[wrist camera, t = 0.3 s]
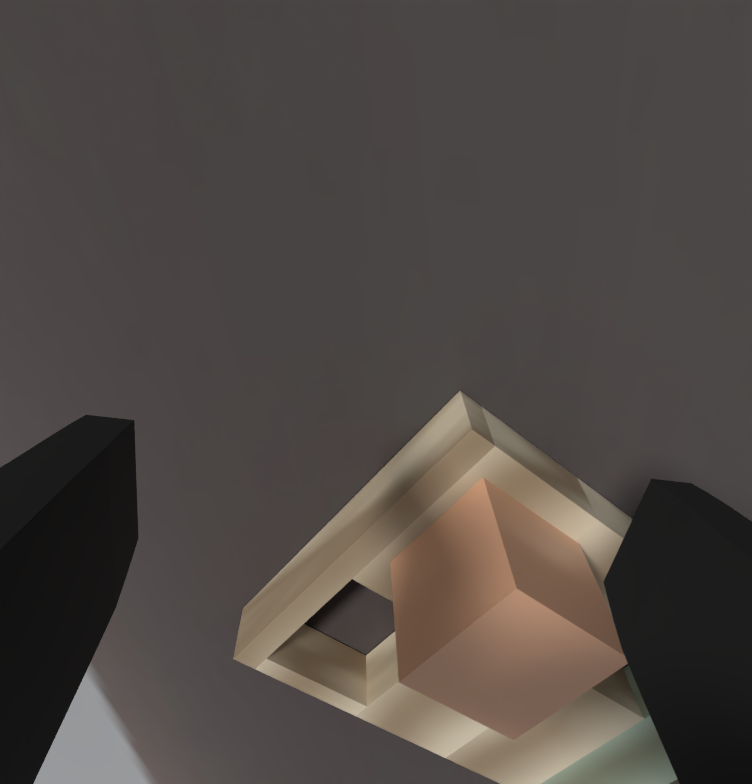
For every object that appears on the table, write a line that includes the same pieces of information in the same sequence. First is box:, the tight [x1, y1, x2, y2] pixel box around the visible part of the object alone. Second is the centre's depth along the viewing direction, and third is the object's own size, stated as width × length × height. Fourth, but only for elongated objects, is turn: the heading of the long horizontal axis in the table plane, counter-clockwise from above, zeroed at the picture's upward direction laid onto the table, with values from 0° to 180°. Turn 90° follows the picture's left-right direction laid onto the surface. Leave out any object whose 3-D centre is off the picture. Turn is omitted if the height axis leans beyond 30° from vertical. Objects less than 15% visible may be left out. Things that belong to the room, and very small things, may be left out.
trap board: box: [233, 391, 679, 784], centre depth 23 cm, size 20×12×4 cm, turn 51°
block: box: [390, 478, 628, 740], centre depth 18 cm, size 4×4×4 cm
